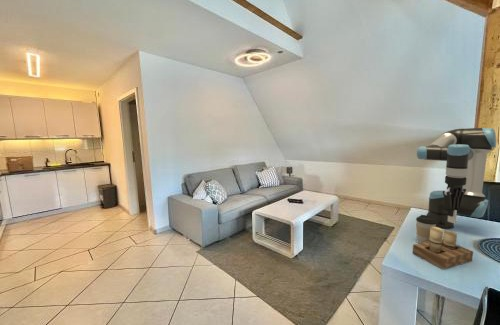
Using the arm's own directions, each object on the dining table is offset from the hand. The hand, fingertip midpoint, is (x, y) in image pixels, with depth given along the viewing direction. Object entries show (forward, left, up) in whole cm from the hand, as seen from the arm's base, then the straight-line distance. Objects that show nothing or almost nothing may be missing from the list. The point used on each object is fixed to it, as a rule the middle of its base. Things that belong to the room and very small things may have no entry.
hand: (451, 221), depth 107 cm
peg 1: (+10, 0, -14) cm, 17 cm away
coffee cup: (-3, -13, -18) cm, 23 cm away
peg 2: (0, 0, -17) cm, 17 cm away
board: (+5, 0, -18) cm, 19 cm away
